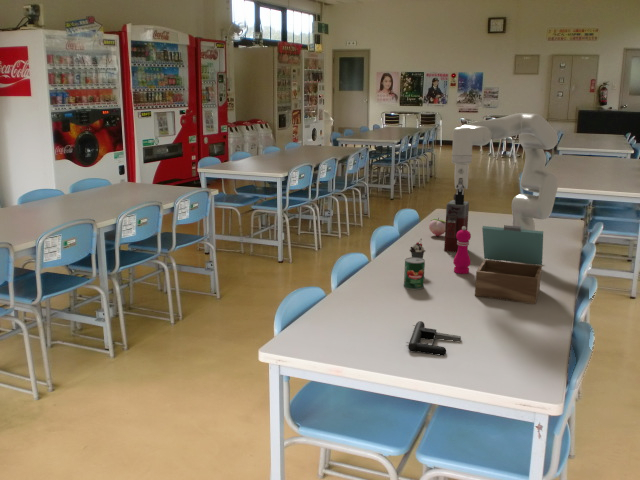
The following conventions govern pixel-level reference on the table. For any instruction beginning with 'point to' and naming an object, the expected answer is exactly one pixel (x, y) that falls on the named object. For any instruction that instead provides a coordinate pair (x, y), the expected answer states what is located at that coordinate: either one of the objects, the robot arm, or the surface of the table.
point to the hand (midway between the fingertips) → (459, 202)
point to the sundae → (417, 250)
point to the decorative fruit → (437, 227)
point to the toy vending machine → (455, 223)
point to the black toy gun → (428, 334)
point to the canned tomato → (414, 273)
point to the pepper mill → (462, 252)
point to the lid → (513, 244)
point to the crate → (508, 281)
